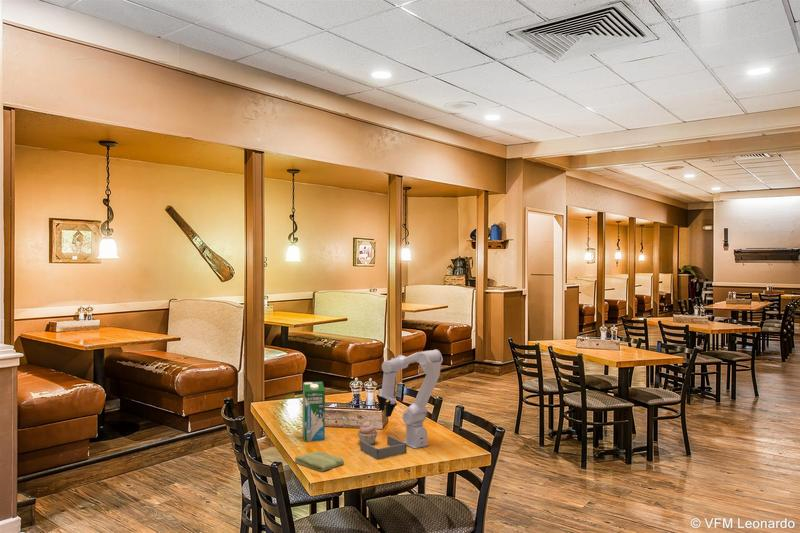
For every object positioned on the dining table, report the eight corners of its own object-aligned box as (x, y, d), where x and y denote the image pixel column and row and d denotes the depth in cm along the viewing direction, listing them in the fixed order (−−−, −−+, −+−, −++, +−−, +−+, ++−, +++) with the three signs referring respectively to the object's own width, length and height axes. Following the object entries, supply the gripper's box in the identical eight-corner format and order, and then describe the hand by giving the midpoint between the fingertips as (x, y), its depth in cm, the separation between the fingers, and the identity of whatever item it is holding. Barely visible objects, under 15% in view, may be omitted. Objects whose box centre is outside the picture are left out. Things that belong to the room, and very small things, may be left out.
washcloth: (316, 455, 240) (316, 447, 240) (346, 465, 228) (346, 457, 228) (292, 463, 230) (292, 455, 230) (321, 474, 218) (321, 466, 218)
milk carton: (304, 441, 256) (304, 386, 255) (302, 435, 264) (302, 382, 264) (324, 440, 258) (325, 385, 258) (321, 434, 267) (322, 381, 266)
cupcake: (382, 443, 254) (382, 421, 254) (365, 448, 248) (366, 425, 248) (369, 438, 261) (369, 417, 261) (353, 443, 255) (353, 420, 255)
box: (406, 453, 242) (406, 443, 242) (377, 459, 234) (377, 449, 234) (388, 444, 253) (388, 435, 253) (360, 450, 245) (360, 440, 245)
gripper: (374, 380, 270) (371, 407, 272) (386, 391, 257) (383, 419, 259) (387, 379, 273) (384, 406, 275) (400, 390, 260) (397, 418, 262)
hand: (384, 413), depth 267 cm, fingers open, 7 cm apart
